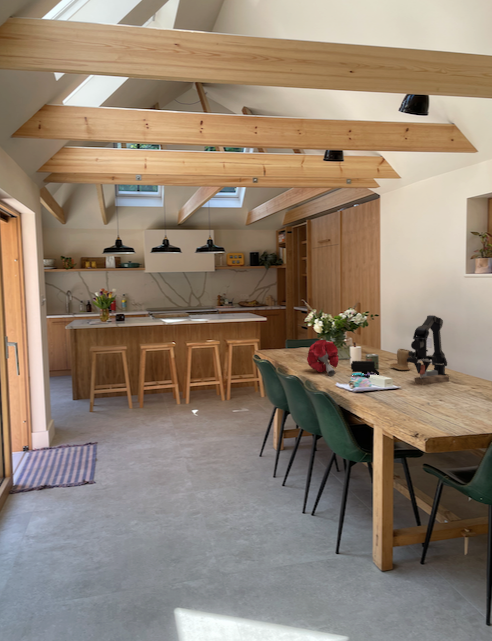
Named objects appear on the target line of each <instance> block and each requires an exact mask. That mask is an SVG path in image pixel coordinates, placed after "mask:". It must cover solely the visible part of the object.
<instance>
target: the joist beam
mask: <svg viewBox="0 0 492 641" xmlns="http://www.w3.org/2000/svg"><path fill="white" fill-rule="evenodd" d="M413 380H414V383H416V384H420V385H429V384H438V383H445V382H446V383H447V382H450V376H448V375H434V376H425V377H423V379H420V376H416V377H414V379H413Z"/></svg>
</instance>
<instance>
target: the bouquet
mask: <svg viewBox="0 0 492 641" xmlns="http://www.w3.org/2000/svg"><path fill="white" fill-rule="evenodd" d="M338 352H339V349H338V347H337V346H336V345H335V344H334V341H327V340H326V339H320V340H315V342H314V343H313V344H311V345H310V347H309V350H308V352H307V356H306V357H307V358H306V362H307V364H308V366H309V367H310V368H311V369H312V370H314V371H315V370H316V371H317V372H319V373H322V372H327V375H328V376H329V377H332V376H334V375H335V373H336V371H335V369H336V368H337V367H338V365H339V353H338ZM334 368H335V369H334Z"/></svg>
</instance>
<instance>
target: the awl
mask: <svg viewBox="0 0 492 641" xmlns="http://www.w3.org/2000/svg"><path fill="white" fill-rule="evenodd" d="M417 374H418V375H419V377H420V379H423V374H425V365H423V363H421V369H420V373H418V372H417Z"/></svg>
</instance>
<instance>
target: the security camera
mask: <svg viewBox="0 0 492 641" xmlns="http://www.w3.org/2000/svg"><path fill="white" fill-rule="evenodd" d="M375 363H376V362H375V360H352V361H351V363H350V370H351V371H352V373H361V374H362V373H364V374H367V375H368V374H369V375H376V374H377V375H379V376H380V371H379V370H378V369H376V368H375Z"/></svg>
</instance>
